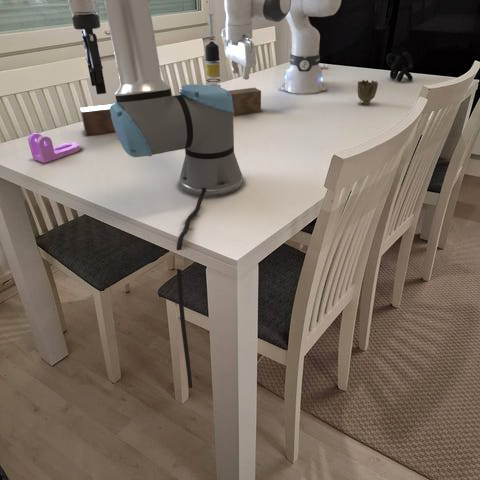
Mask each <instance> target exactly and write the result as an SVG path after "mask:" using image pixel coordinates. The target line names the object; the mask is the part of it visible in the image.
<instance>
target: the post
mask: <svg viewBox="0 0 480 480" xmlns="http://www.w3.org/2000/svg"><path fill="white" fill-rule="evenodd" d="M228 91H229V92H230V94H231V96H232V102H233V110H234V112H233V117H234V116H240V115H248V114H249V115H250V114H254V113H255V114H256V113H261V112H262V90H260V89H259V88H256V87H248V88H240V89H238V88H237V89H230V90H228ZM112 104H113V103H112ZM112 104H111V103H110V104H104V105H103V104H102V105H94V106H86V107H79V111H80V116H81V120H82V124H83V129H84V130H83V131H84V134H85V136H94V135H102V134H110V133H116V131H115V129H114V126H113V122H112V119H111V113H110V106H111V105H112Z"/></svg>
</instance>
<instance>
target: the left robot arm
mask: <svg viewBox="0 0 480 480" xmlns="http://www.w3.org/2000/svg"><path fill="white" fill-rule="evenodd" d="M67 2H68V6H69V11H70V13H71V14H72V15H71V20H72V25H73V28H74V29H75V30H78V31H79V30H80V31H81V34H82V35H81V41H82V44H83V48H84V52H85V61H86V63H87V68H88V74H89V77H90V79H89V80H90V85H91V86H92V87H95V91H96V95H103V94H104V95H105V94H107V89H106V83H105V78H104V73H103V72H104V71H103V68H104V67H103V64H102V59H101V55H100V51H99V45H98V38H97V37H98V36H97V34H96V33H95V32H94V30H96V29H97V30H98V29H100V28H101V22H100V16H99V14H98V13H97V12H98V6H97V4H99V0H67ZM103 2H104V3H103V4H104V6H105V7H104V8H105V14H106V17H107V23H108V28H109V33H110V38H111V43H112V48H113V53H114V57H115V64H116V68H117V73H118V78H119V84H120V85H119V88H118V89H117V90H116V92H115V93H114V95H115V101H116V102H113V103H112V105H111V106H110V113H111V119H112V122H113V126H114V129H115V131H116V132H115V133H116V136H117V139H118V141H119V143H120V145H121V147H122V149H123V151H125V153H126V154H127V155H128V156H130V157H132V158H142V157H152V156H154V155H159V154H164V153H171V152H175V151H179V150H180V151H182V150H184V154H185V155H184V158H183V164H182V168H181V171H180V176H179V183H180V184H179V185H180V188H181V189H182V191H184V192H186V193H187V194H190V195H194V196H199V197H198V199H197V202H196V205H195V208H194V210H192V212H191V213H190V214H189V215H188V216H187V218H186V219H185V222H184V227H183V229H182V231H181V233H180V234H179V235H178V238H177V241H176V251H181V250H182V246H183V242H184V241H183V240H184V238H185V236H186V235H187V233H188V231H189V229H190V223H191V221H192V220H193V219H194V217H196V215H197V214H198V213H199V211H200V209H201V206H202V202H203V200H204V197H221V196H224V195H229V194H232V193H234V192H235V191H237V190H239V189H240V188H241V187H242V185H243V174H242V171H241V168H240V165H239V163H238V160H237V157H236V154H235V132H234V131H235V130H234V127H235V126H234V116H233V112H234V110H233V102H232V96H231V94H230V92H229V91H230V90H227V89H225V88H223V87H221V88H220V87H216V86H210V84H200V83H199V84H197V83H196V84H184V85H181V86H180V87H179V90H178V93H179V94H177V95H172V89H171V86H170V85H169V84H167V83H166V82H165V81H164V80H163V78H162V72H161V67H160V61H159V55H158V49H157V42H156V36H155V30H154V25H153V18H152V13H151V12H152V11H151V7H150V6H151V5H150V0H103ZM182 272H183V271H182V269H180V268H177V269H176V281H177V296H178V309H179V320H180V328H181V336H182V344H183V351H184V360H185V361H184V362H185V369H186V374H187V376H186V377H187V385H188V386H187V387H188V388H189V389H192V388H193V377H192V367H191V361H190V360H191V359H190V353H189V344H188V335H187V327H186V317H185V306H184V290H183V273H182Z"/></svg>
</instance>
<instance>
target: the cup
mask: <svg viewBox="0 0 480 480" xmlns="http://www.w3.org/2000/svg"><path fill="white" fill-rule="evenodd" d="M378 86H379V82H378V81H377V80H375V81H374V80H371V81H370V82H369V79H367V80H364V79H362V80H359V81H357V97H358V99H359V101H360V104H361V105H364V106H367V105H370V104H371V101H372V100H374V99H375V97H376V94H377V90H378Z"/></svg>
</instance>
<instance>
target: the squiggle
mask: <svg viewBox="0 0 480 480" xmlns="http://www.w3.org/2000/svg"><path fill="white" fill-rule="evenodd" d="M401 57H402V59H401ZM391 59H392V60H391ZM393 60H394V61H393ZM385 61H386V64H387V67H390V68H391V70H390V72H389V78H390V79H391V80H395V79H396V81H397V82H399V83H400V82H402V81H403V79H404V76H406V78H407V80H408V81H412V80H413V79H414V77H413V75H412V74H411V73H410V72H409V71H410V70H412V69H413V68H414V64H413V61H412V57H411V54H410V53H409V52H408V51H403V53H402V54H401V55H396V54H394V53H392V52H390V53H387V55H386V57H385ZM406 62H407V65H408V66H407V67H405V66H404V65H405V64H406ZM400 70H401V71H400Z"/></svg>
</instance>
